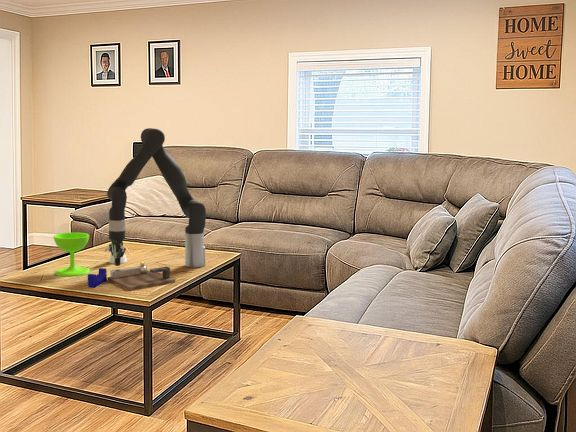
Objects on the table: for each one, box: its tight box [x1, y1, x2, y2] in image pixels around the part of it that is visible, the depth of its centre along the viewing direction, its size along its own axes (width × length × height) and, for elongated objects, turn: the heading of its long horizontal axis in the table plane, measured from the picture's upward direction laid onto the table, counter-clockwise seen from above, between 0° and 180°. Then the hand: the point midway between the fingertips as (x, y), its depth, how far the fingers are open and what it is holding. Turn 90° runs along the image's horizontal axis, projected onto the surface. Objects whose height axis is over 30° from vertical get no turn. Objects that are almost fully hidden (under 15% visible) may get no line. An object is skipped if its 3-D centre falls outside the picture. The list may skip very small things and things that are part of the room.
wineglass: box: [53, 232, 91, 278], centre depth 299 cm, size 16×16×18 cm
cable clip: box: [87, 267, 108, 289], centre depth 280 cm, size 12×4×6 cm, turn 170°
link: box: [109, 261, 148, 278], centre depth 291 cm, size 18×4×5 cm, turn 132°
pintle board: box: [107, 266, 176, 291], centre depth 286 cm, size 23×21×6 cm
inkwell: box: [104, 245, 128, 265], centre depth 319 cm, size 9×18×10 cm, turn 170°
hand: (117, 265), depth 294 cm, fingers closed
